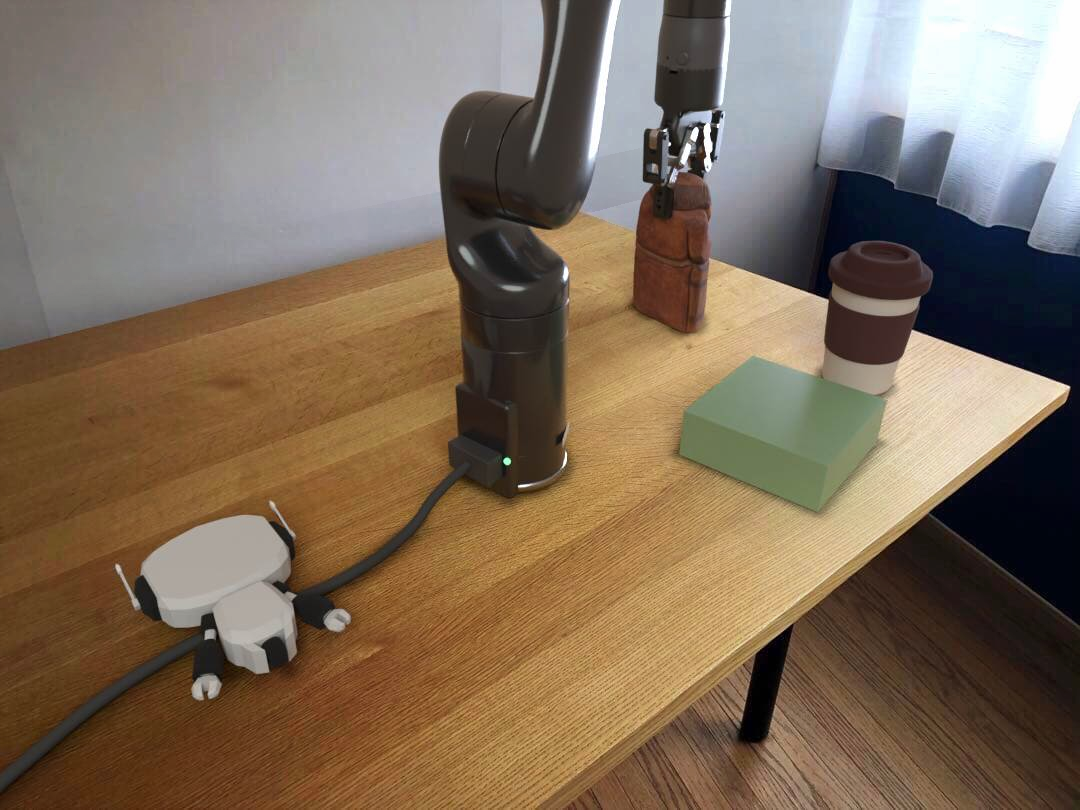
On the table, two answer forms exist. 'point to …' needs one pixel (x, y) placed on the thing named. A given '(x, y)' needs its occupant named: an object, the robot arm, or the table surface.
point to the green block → (782, 430)
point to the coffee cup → (871, 313)
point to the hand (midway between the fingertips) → (678, 209)
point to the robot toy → (231, 595)
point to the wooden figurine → (674, 256)
